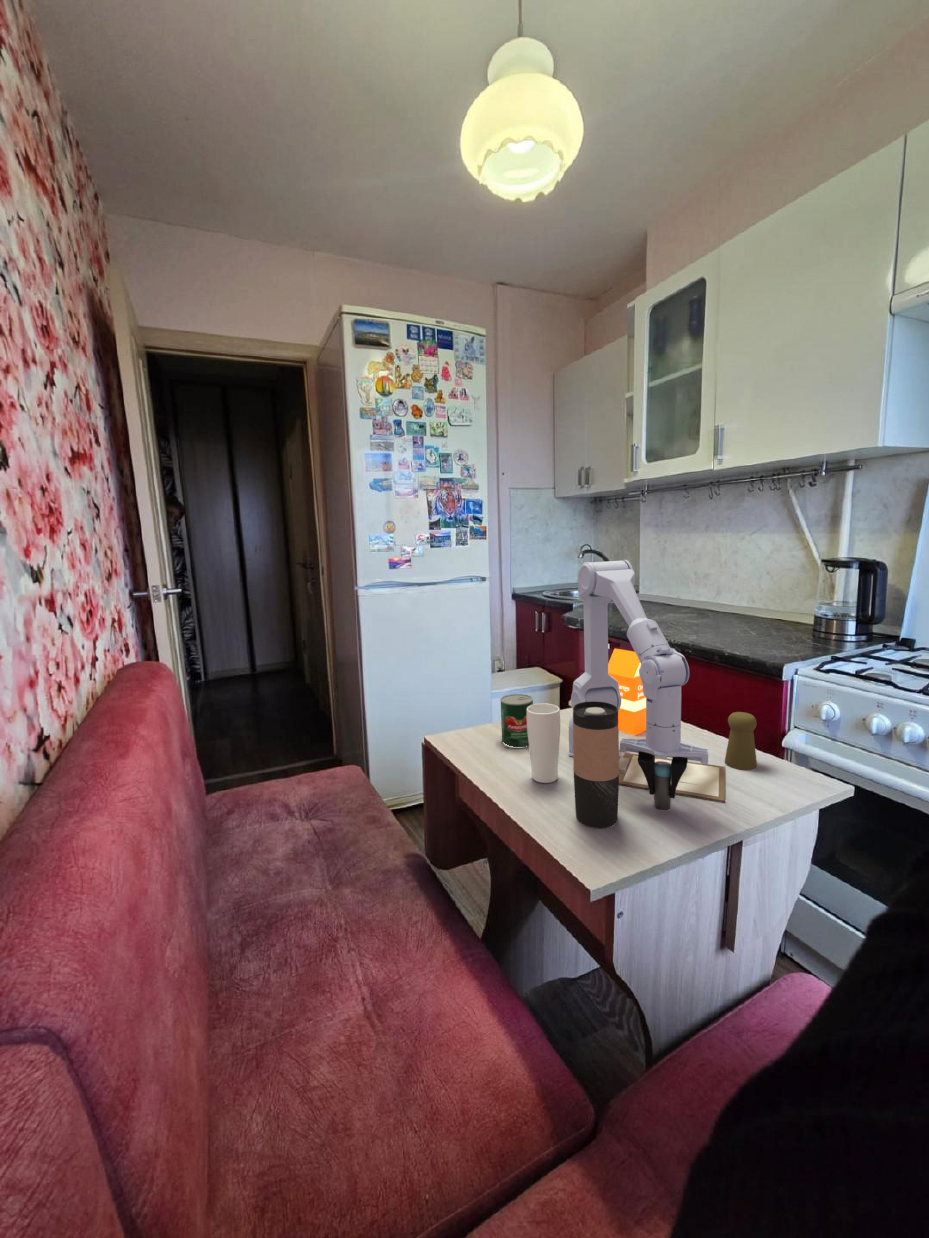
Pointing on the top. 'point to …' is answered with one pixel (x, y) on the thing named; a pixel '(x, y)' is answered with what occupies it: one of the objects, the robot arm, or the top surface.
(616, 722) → the travel mug
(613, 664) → the orange juice
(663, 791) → the marker
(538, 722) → the drinking glass
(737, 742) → the cork
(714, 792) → the clipboard
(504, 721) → the canned tomato
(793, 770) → the top surface
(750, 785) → the top surface
